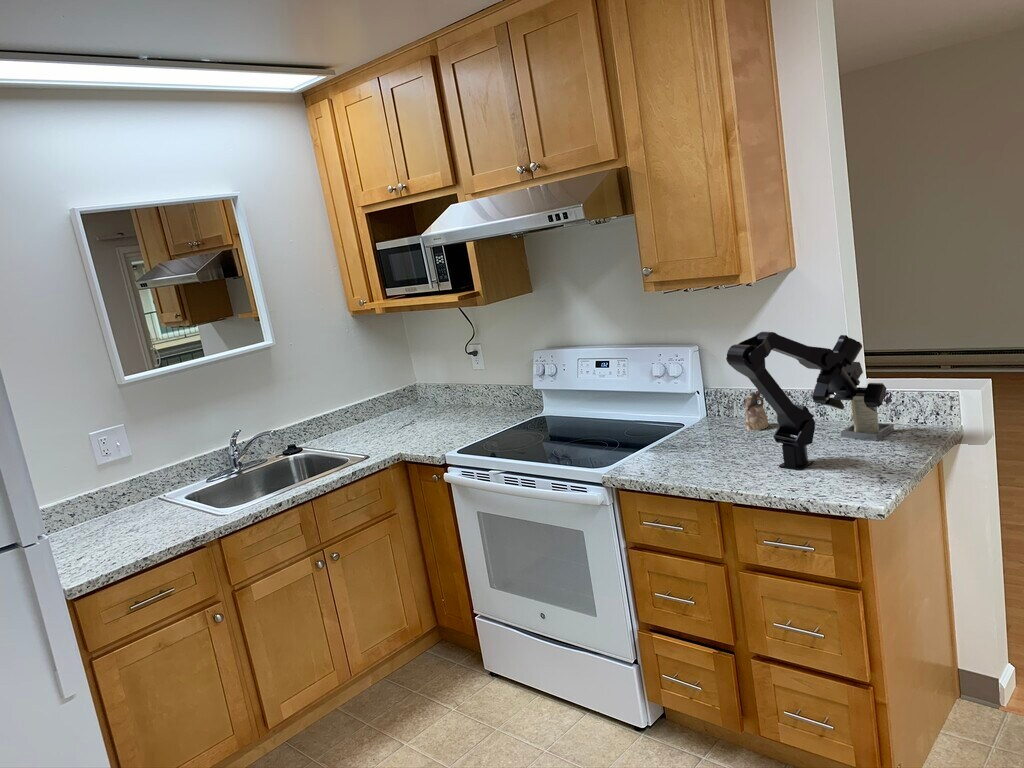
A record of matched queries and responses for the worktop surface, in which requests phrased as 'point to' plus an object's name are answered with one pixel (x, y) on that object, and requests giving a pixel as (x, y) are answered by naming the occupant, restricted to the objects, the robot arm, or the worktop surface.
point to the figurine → (755, 412)
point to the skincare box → (864, 416)
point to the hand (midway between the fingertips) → (859, 409)
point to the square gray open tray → (883, 431)
